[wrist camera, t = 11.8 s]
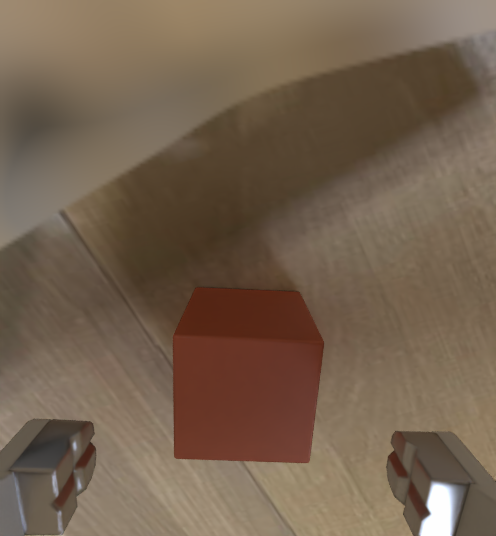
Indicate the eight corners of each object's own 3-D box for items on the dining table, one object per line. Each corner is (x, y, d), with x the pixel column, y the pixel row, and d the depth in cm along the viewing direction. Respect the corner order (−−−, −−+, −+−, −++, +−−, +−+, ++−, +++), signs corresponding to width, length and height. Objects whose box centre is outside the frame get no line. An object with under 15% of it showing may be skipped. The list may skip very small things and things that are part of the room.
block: (195, 286, 14) (171, 335, 9) (300, 290, 14) (325, 341, 9) (194, 378, 15) (173, 459, 10) (291, 382, 15) (309, 464, 11)
